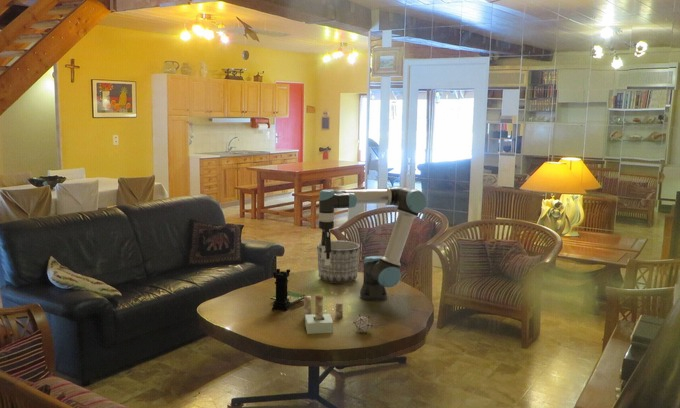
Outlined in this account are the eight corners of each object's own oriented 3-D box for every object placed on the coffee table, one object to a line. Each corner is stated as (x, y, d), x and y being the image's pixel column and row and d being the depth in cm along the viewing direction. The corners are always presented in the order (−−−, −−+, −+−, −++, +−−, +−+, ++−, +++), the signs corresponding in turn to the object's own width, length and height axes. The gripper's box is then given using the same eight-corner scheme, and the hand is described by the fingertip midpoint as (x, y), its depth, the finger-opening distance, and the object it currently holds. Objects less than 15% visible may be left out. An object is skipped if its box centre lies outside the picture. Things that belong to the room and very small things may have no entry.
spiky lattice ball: (358, 339, 279) (351, 319, 283) (375, 332, 279) (368, 312, 283) (357, 336, 271) (349, 315, 274) (374, 329, 271) (367, 309, 275)
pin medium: (310, 316, 297) (310, 295, 296) (311, 319, 294) (311, 297, 292) (303, 316, 297) (303, 295, 295) (304, 319, 293) (304, 298, 292)
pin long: (322, 327, 283) (322, 295, 281) (322, 329, 280) (323, 297, 277) (314, 327, 283) (314, 295, 280) (315, 330, 279) (315, 297, 277)
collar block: (329, 323, 288) (329, 313, 287) (333, 332, 276) (333, 322, 276) (305, 324, 286) (305, 314, 286) (307, 333, 275) (307, 323, 274)
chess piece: (286, 310, 306) (286, 273, 302) (271, 309, 307) (271, 272, 304) (291, 305, 313) (291, 269, 310) (276, 304, 315) (276, 268, 312)
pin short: (341, 315, 300) (342, 302, 299) (343, 317, 296) (343, 304, 295) (335, 315, 299) (335, 302, 298) (336, 318, 296) (336, 304, 295)
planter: (312, 284, 352) (313, 248, 349) (321, 273, 377) (321, 239, 374) (355, 287, 348) (356, 251, 344) (361, 275, 373) (362, 241, 370)
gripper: (316, 216, 309) (315, 255, 312) (321, 225, 284) (321, 268, 288) (330, 216, 310) (329, 255, 313) (337, 225, 286) (336, 267, 289)
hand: (325, 261), depth 301 cm, fingers open, 13 cm apart
